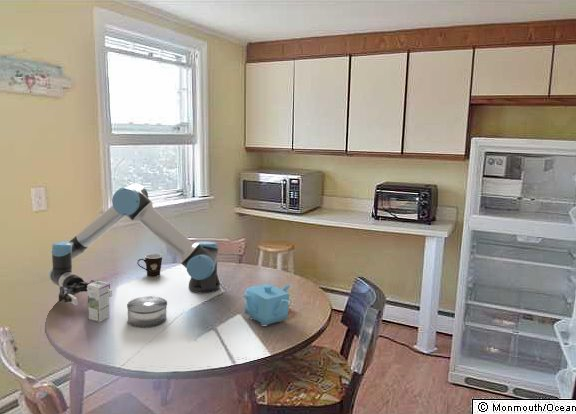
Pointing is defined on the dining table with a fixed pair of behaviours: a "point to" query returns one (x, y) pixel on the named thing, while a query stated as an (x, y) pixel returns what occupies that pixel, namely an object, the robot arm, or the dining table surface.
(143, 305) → the cookie tin
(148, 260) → the coffee mug
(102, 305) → the syrup box
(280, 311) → the teakettle
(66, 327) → the dining table surface
